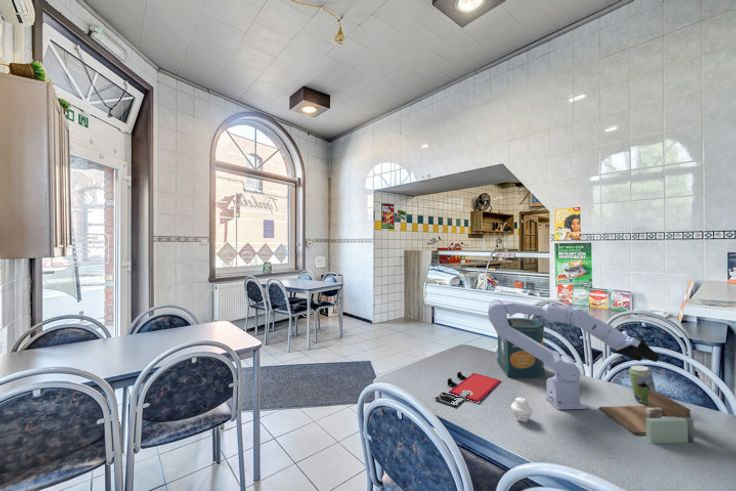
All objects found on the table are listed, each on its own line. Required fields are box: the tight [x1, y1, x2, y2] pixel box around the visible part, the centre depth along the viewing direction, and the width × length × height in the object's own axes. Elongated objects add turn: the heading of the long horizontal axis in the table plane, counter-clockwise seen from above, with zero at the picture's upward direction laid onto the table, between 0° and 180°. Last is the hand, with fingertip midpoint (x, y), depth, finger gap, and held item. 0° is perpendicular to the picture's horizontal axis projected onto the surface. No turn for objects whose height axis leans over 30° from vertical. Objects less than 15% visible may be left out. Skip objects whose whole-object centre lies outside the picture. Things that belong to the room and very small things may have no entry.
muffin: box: [510, 397, 533, 423], centre depth 100 cm, size 6×6×7 cm
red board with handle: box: [433, 371, 502, 405], centre depth 121 cm, size 30×3×15 cm
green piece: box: [645, 417, 695, 444], centre depth 88 cm, size 12×2×6 cm, turn 89°
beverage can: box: [628, 364, 657, 405], centre depth 109 cm, size 6×7×12 cm
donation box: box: [496, 317, 546, 379], centre depth 138 cm, size 16×16×28 cm
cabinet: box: [598, 390, 691, 436], centre depth 98 cm, size 16×14×7 cm
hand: (649, 359), depth 100 cm, fingers open, 7 cm apart
